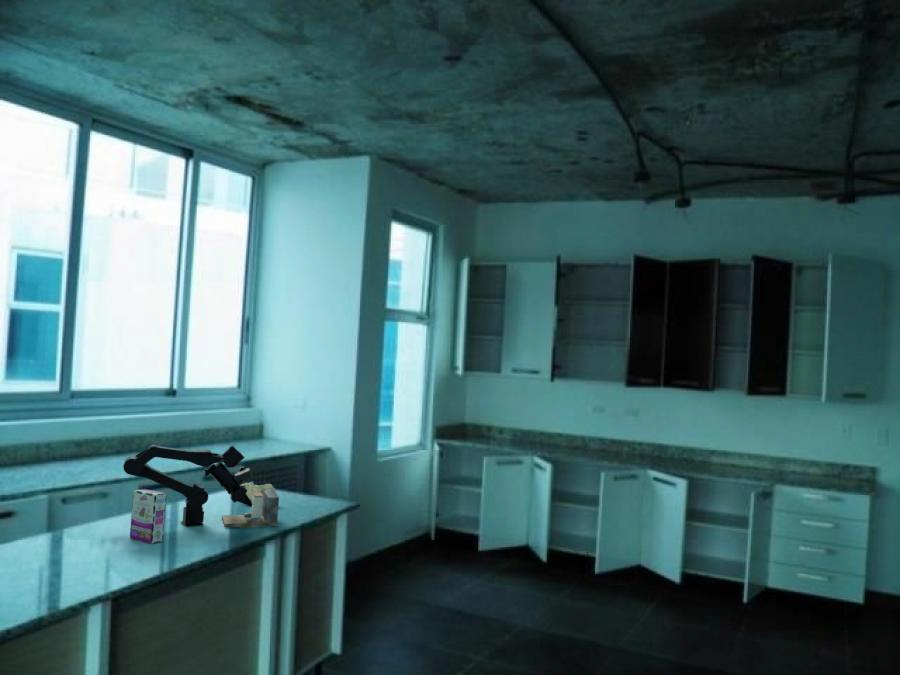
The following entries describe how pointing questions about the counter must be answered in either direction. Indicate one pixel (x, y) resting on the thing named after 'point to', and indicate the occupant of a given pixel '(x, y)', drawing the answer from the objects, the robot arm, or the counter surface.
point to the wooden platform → (267, 518)
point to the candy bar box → (148, 516)
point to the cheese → (256, 489)
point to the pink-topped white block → (257, 505)
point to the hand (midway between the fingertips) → (251, 505)
